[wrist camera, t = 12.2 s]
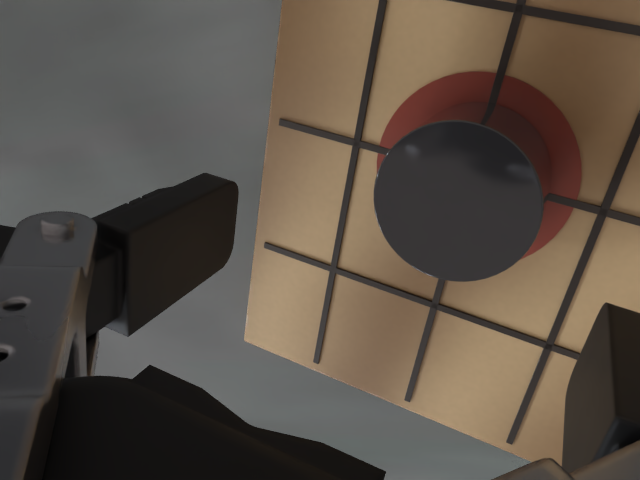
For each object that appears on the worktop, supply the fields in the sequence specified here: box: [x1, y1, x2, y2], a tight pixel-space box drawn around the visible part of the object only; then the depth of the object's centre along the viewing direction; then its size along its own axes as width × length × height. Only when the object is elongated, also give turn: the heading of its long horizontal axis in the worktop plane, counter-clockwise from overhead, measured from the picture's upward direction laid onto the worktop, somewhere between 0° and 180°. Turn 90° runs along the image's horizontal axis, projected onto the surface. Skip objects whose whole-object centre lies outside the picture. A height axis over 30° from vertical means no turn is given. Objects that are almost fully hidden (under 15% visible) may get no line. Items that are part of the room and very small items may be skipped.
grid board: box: [244, 0, 640, 467], centre depth 19 cm, size 15×20×1 cm
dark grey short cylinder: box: [373, 102, 552, 282], centre depth 17 cm, size 5×5×3 cm
